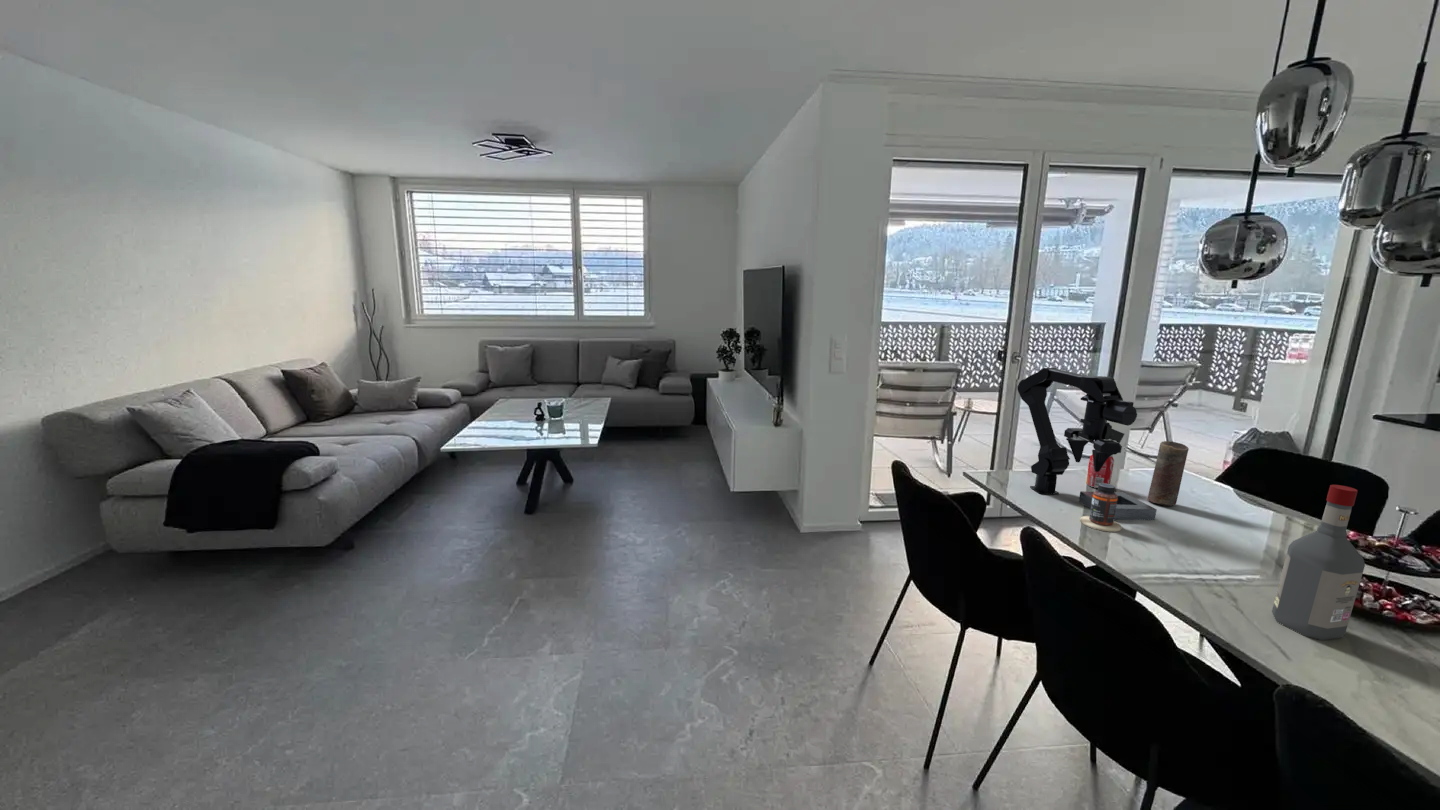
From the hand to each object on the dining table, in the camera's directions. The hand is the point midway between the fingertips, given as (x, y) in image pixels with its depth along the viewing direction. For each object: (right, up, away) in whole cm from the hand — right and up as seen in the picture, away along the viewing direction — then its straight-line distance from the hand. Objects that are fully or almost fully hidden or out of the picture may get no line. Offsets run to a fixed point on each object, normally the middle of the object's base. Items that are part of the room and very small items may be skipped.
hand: (1087, 466), depth 176 cm
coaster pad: (-3, -16, -11) cm, 19 cm away
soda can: (+17, -9, +22) cm, 29 cm away
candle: (+29, -13, +7) cm, 32 cm away
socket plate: (+9, -14, 0) cm, 16 cm away
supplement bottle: (-3, -15, -11) cm, 19 cm away
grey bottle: (+6, -26, -60) cm, 66 cm away
